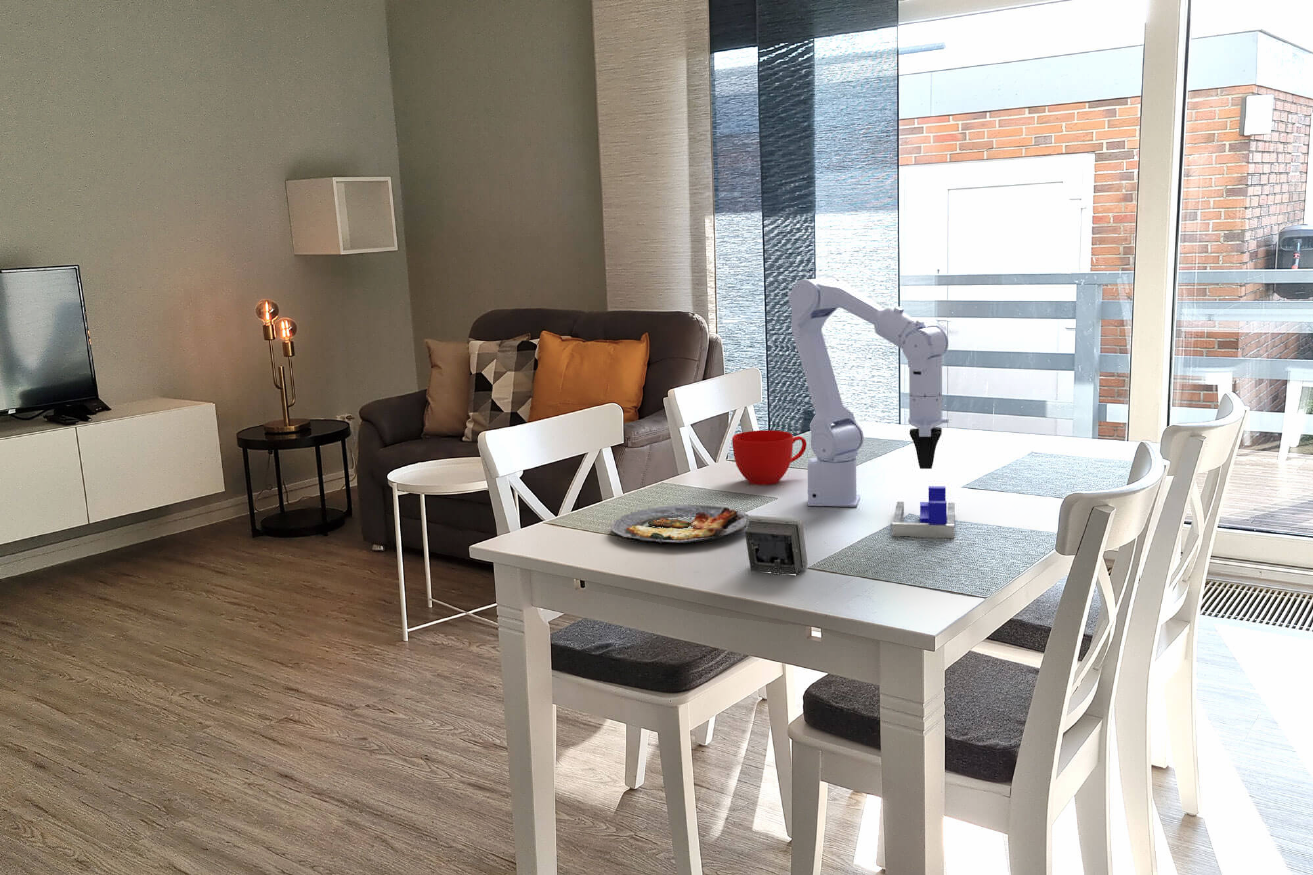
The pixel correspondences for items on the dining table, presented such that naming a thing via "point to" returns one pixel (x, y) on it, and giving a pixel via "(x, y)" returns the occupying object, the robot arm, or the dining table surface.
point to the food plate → (680, 523)
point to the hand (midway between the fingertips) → (925, 468)
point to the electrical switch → (775, 544)
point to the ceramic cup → (765, 455)
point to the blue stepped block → (934, 506)
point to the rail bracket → (923, 525)
